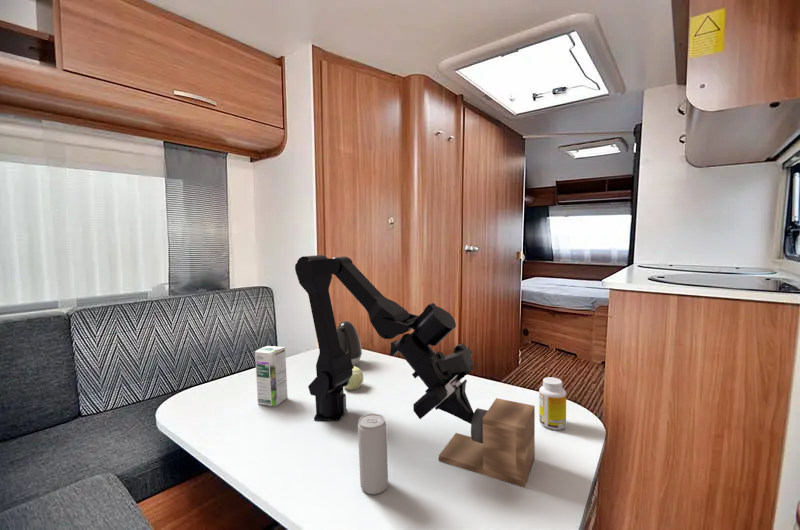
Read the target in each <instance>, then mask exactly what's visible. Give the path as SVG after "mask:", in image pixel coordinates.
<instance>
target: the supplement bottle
mask: <svg viewBox="0 0 800 530" xmlns="http://www.w3.org/2000/svg"><path fill="white" fill-rule="evenodd" d="M538 390H539V391H538V394H539V395H538V397H539V398H538V399H539V401H538V402H539V404H538V405H539V406H538V407H539V409H538V410H539V412H538V413H539V414H538V415H539V420H538V421H539V423H540V424H541V426H543V427H544V428H546V429H549V430H551V431H560V430H564V429H565V428H566V425H567V391H566V390H565V388H564V387H563V380H561V379H559V378H557V377H552V376H551V377H549V376H547V377H543V379H542V385H541V386H540V387H539V389H538Z"/></svg>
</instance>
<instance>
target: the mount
mask: <svg viewBox="0 0 800 530" xmlns="http://www.w3.org/2000/svg"><path fill="white" fill-rule="evenodd" d="M535 408H536V407H535V405H533V404H527V403H523V402H516V401H512V400H507V399H502V398H499V397H498V398H497V397H496V398H495V400H494V401H493V402H492V403H491V405H490V407H488V411H487V413H486V414H485V416H484V417H483V444H482V443H478V442H474V441H473V440H472V438H471V435H470V436H469V435H465V434H461V433H458V432H455V433H454V435H453V436H452V437H451V439H449V441H448V442H447V444H446V445H445V446H444V448H443V449H442V450H441V452H440V453H439V454H438V462H442V463H444V464H445V463H446V464H450V465H451V466H455V467H459V468H461V469H464V470H468V471H471V472H475V473H477V474H481V475H484V476H487V477H490V478H494V479H497V480H500V481H504V482H505V483H510V484H512V485H516V486H520V487H522V488H526V487H527V486H526V485H527V483H528V480H529V476H530V474H531V471H532V469H533V468H532V467H533V464H534V461H535V457H536V456H535V455H536V453H535V452H536V451H535V450H536V448H535V447H536V446H535V445H536V443H535V441H536V439H535V438H536V437H535V435H536V434H535V432H536V431H535V428H536V427H535V424H536V423H535V415H536V414H535V413H536V412H535Z"/></svg>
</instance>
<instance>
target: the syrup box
mask: <svg viewBox="0 0 800 530" xmlns="http://www.w3.org/2000/svg"><path fill="white" fill-rule="evenodd" d="M254 353H255V354H254V356H255V357H254V358H255V359H254V360H255V375H256V376H255V377H256V393H257V405H263V406H270V407H277V406H278V405H280V403H282V402H283V401H285V400H286V399H288V397H289V396H288V382H287V381H288V378H287V377H288V376H287V361H286V359H287V358H286V346H274V345H273V346H271V345H266V346H263V347H261V348H259V349H257V350H255V352H254Z"/></svg>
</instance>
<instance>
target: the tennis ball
mask: <svg viewBox="0 0 800 530" xmlns="http://www.w3.org/2000/svg"><path fill="white" fill-rule="evenodd" d="M352 371H353V373H352V376H351V378H350V379H349V381H348V385H347V386H344V387H343V388H345V389H346V390H349V391H354V390H358V389H359V388H360V387H361V386H362V384H363V382H364V373H363V372H362V370H361V368H359V367H357V366H356V365H355V366H354V368H353V369H352Z"/></svg>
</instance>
